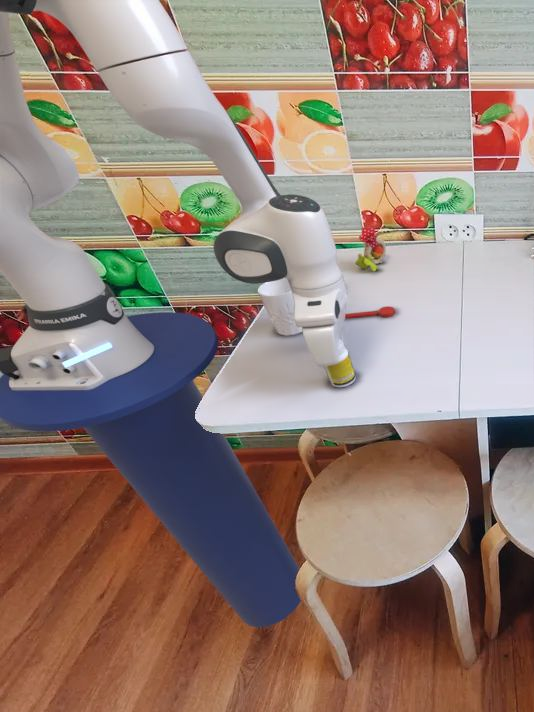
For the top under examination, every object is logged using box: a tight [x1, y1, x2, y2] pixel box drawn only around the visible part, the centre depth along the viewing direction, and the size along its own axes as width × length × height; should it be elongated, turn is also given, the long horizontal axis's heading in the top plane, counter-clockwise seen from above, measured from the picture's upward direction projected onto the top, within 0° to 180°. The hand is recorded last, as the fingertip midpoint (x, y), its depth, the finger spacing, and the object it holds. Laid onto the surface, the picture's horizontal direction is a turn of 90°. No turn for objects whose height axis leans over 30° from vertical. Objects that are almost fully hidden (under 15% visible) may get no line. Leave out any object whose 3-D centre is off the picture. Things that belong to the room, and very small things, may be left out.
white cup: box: [257, 278, 303, 336], centre depth 100 cm, size 8×8×10 cm
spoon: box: [345, 305, 396, 320], centre depth 106 cm, size 16×4×1 cm, turn 101°
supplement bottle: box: [323, 339, 357, 388], centre depth 85 cm, size 5×5×8 cm
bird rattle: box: [354, 227, 387, 272], centre depth 124 cm, size 6×11×9 cm
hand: (339, 356), depth 90 cm, fingers closed
